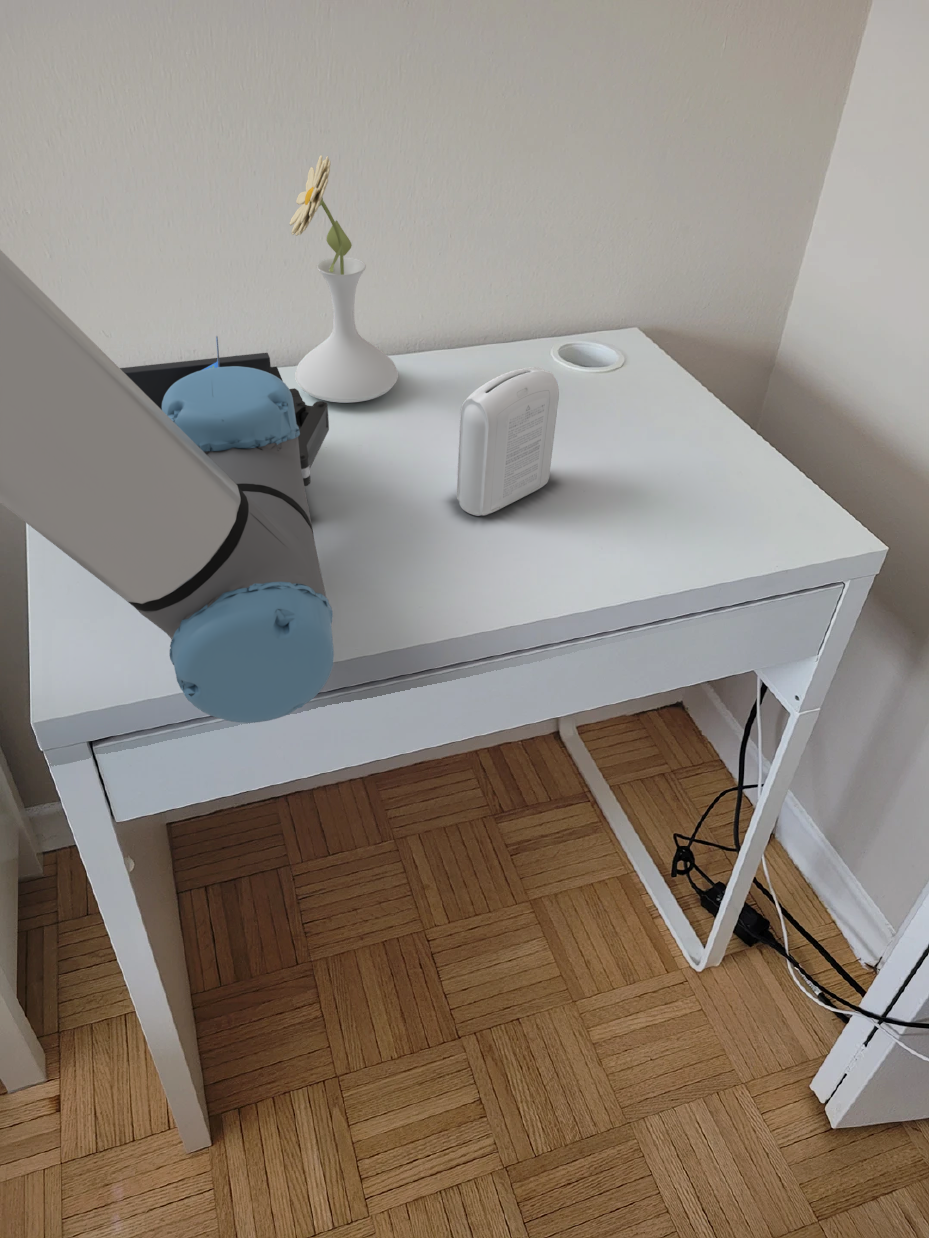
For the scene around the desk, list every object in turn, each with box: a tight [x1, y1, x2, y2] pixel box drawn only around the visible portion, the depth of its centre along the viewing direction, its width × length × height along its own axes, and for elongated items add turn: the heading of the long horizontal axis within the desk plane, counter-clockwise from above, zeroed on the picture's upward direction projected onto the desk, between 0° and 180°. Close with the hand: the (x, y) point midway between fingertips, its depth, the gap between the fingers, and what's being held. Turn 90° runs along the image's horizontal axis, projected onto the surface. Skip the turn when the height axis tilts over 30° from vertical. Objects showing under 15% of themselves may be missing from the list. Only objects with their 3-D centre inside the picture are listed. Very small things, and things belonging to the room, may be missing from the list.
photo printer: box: [456, 366, 560, 517], centre depth 87 cm, size 10×4×12 cm, turn 134°
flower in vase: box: [289, 154, 399, 404], centre depth 98 cm, size 13×11×25 cm
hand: (198, 389), depth 86 cm, fingers open, 13 cm apart
